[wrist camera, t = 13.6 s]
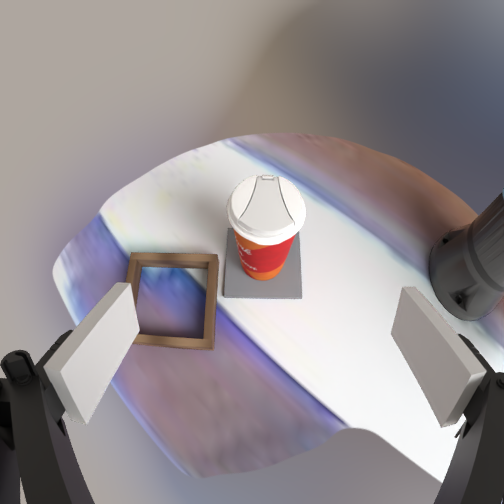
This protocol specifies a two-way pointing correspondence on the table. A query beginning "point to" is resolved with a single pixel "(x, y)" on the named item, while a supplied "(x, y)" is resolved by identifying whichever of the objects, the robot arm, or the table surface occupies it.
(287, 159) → the table surface
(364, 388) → the table surface
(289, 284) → the mat
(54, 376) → the robot arm
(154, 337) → the brown square open frame
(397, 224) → the table surface
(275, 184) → the paper cup
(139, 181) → the table surface
